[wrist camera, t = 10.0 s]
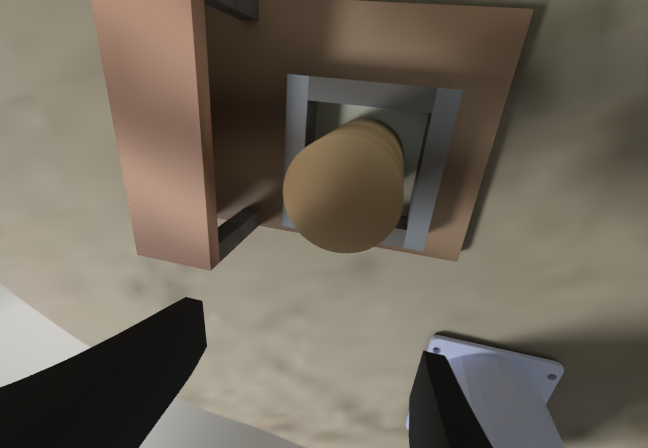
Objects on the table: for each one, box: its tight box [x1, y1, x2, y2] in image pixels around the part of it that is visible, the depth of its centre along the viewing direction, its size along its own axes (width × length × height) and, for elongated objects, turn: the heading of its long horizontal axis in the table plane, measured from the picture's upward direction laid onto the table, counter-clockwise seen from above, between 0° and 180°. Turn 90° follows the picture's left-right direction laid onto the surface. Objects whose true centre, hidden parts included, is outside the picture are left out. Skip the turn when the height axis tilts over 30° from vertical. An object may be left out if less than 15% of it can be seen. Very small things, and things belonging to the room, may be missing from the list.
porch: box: [91, 0, 534, 271], centre depth 15 cm, size 12×16×6 cm
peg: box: [283, 117, 404, 253], centre depth 13 cm, size 4×4×7 cm
